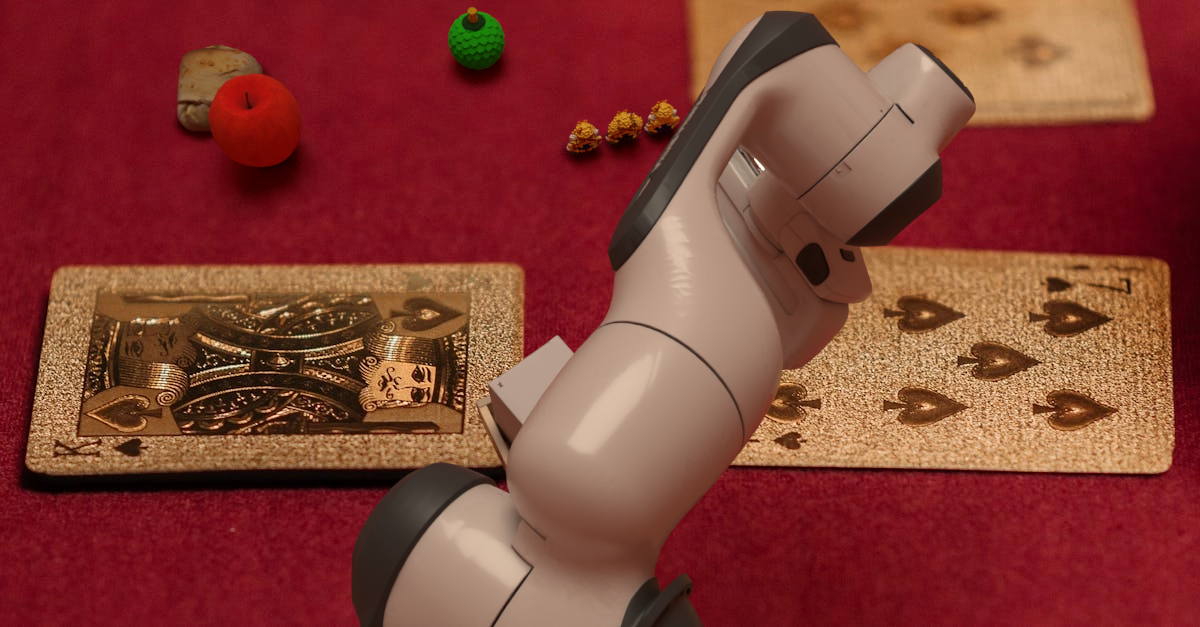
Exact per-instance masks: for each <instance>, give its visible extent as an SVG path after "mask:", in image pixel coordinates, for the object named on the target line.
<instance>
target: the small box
mask: <svg viewBox="0 0 1200 627" xmlns="http://www.w3.org/2000/svg"><path fill="white" fill-rule="evenodd" d="M574 353H575V352H573V350H572V349H571V347H570V346H568V345H567V343H566V342H565V341H564V340H563V338H561V337H560V336H559V335H557V334H556V335H555V336H554V337H552V338H551V339H550V340H548V341H547V342H546V343H545V344H543V345H541V346H540V347H538V348H537V349H536V350H535V351H533V352H532V353H530V354H528V355H527V356H526V357H524V358H523V359H522V360H520V361H519V362H518V363H516V364H514V365H513V366H512V367H510V368H508V369H507V370H506V371H504V372H503V373H501V374H500V375H499V376H497V377H494V378H493V379H492V380H490V381H488V382H487V389H488V393H489V395H490V399H491V403H492V407H493V412H494V417H495V421H496V426H497V428H498V430H499V432H500V434H501V436H502V437H503V438H504V439H505V441H506V442H507V443H508V444H509V446H510V447H511V445H512V443H513V441H514V439H515V437H516V436H517V434H518V432H519V431H520V429H521V427H522V426H523V424H524V422H525V421H526V419H527V417H528V416H529V414H530V413H531V411H532V410H533V408H534V407H535V405H536V404H537V402H538V401H539V399H540V397H541V396H542V395H543V393H544V392H545V390H546V389H547V388H548V386H549V385H550V384H551V382H552V381H553V380H554V378H555V377H556V376H557V374H558V373H559V372H560V370H561V369H562V368H563V367H564V365H565V364H566V363H567V362H568V360H569V359H570V358H571V357H572V356H573V354H574Z"/></svg>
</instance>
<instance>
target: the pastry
mask: <svg viewBox="0 0 1200 627" xmlns="http://www.w3.org/2000/svg"><path fill="white" fill-rule="evenodd" d="M178 70H179V74H178V82H177V98H176V99H177V106H176V113H177V119H178V121H179V123H180V125H182V126H183V127H184V128H185V129H186V130H188V131H192V132H211V128H210V123H209V119H208V115H209V109H210V106H211V104H212V101H213V99H214V97H215V95H216V93H217V90H218V89H219V88H220V87H221V86H222V85H223V84H224V83H225V82H226V81H228V80H230V79H232V78H234V77H235V76H241V75H247V74H253V73H254V74H264V71H263V67H262V66H261V65H260V63H258V61H257V59H256V58H255V57H253V55H252V54H250V53H248V52H244V51H242V50H240V49H239V48H233V47H231V46H225V45H224V44H220V43H215V44H212V45H210V46H205V47H202V48H196V49H192V50H189V51H188V52H186V53H184V55H183V56H182V58H181V61H180V64H179V68H178Z"/></svg>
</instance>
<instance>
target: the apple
mask: <svg viewBox="0 0 1200 627" xmlns="http://www.w3.org/2000/svg"><path fill="white" fill-rule="evenodd" d="M208 119H209V123H210V128H211V131H210V132H211V135H212V138H213V140H214V142H215V144H216V146H218V147H219V149H220V150H221V151H222V153H224V154H225V155H226V157H228V158H229V159H231V160H232V161H234V162H236V163H238V164H240V165H243V166H247V167H256V168H268V167H272V166H275V165H279V164H281V163H282V162H284V161H286V160H287V159H288V158H289V157H290V156H291V155H293V152H294V151H295V149H296V148H297V146H298V143H299V141H300V139H301V135H302V128H303V126H302V125H303V120H302V115H301V111H300V108H299V105H298V102H297V100H296V97H295V95H294V94H293V92H291V90H290V89H289V88H288V87H286V85H285V84H283V83H282V82H281V81H279V80H277V79H275V78H273V77H272V76H269V75H267V74H264V73H263V74H254V73H253V74H247V75H241V76H235V77H234V78H232V79H230V80H228V81H226V82H225V83H224V84H223V85H222V86H221V87H220V88H219V89H218V90H217V93H216V95H215V97H214V99H213V101H212V104H211V106H210V109H209V115H208Z"/></svg>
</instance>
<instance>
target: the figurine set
mask: <svg viewBox="0 0 1200 627" xmlns="http://www.w3.org/2000/svg"><path fill="white" fill-rule="evenodd" d="M667 102H668V99H664V100H661V101H660V100H659V101H657V102H656V104H655V105H654V106H653V107H651V112H650V114H649V115H648V117H647V123H645V126H644V122H643V121H644V120H643V119H642V116H639V115H638V114H635V112H633V113H632V112H629V113H628V111H629V110H628V108H627V109H626V108H625V109H624V110H622V111H621V110H618V111H617V112H616V115H615V116H614V117H613V120H612V121H611V122H610V123H608V127H607V129H608V130H607V133H606V136H605V141H606V142H607V143H608V144H609V145H610V146H611V147H612V146H613V147H618V146H619V145H620V144H622V143H625V141H626V142H627V143H632V142H634V141H636V138H637V137H638V136H639V135H640V134H641V132H642V128H643V129H644V131H645V133H646V134H647V135H648V136H650V137H652V138H653V137H656V136H658V135H659V134H661V133H663V132H666V133H672V132H673V130H675V127H676V126H677V125H679V123H680V120H681V117H679V116H678V115H677V113H678V112H677V111H678V110H677V109H675V108H674V106H672V105H671V104H670V103H667ZM643 126H644V127H643ZM568 141H569V143H567V146H566V147H565V148H566V151H568V153H569V154H570V155H572V156H574V157H576V156H578V157H579V156H580V155H581V154H582V153H585V152H586V151H587V152H589V153H593V152H596V150H597V149H598V146H599V145H601V144H602V142H603V137H602V136H601V135H599V129H597V128H596V127H595V126H594V125H593V124H591V123H588V119H584V120H580V121H577V122H576V126H575V128H574V129H573V131H571V134H570V135H569V136H568Z"/></svg>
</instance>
